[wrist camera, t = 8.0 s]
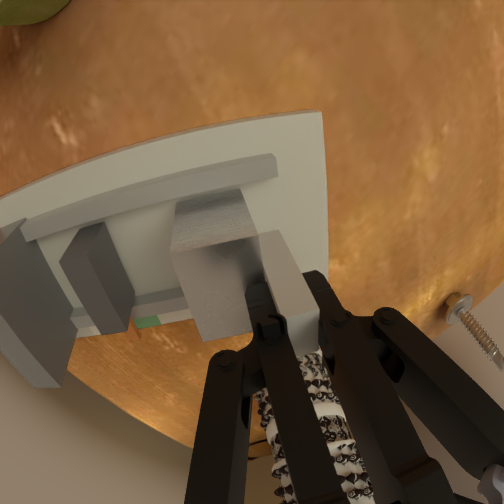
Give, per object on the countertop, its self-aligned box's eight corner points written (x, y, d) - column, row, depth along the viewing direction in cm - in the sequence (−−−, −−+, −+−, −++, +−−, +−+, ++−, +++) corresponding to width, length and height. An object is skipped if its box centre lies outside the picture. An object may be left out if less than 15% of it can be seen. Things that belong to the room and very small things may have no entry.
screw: (432, 307, 32) (458, 279, 30) (443, 318, 34) (467, 293, 32) (488, 383, 21) (520, 351, 19) (493, 386, 23) (521, 358, 22)
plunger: (176, 202, 18) (169, 254, 13) (240, 188, 18) (258, 234, 13) (199, 278, 21) (202, 342, 16) (253, 266, 21) (272, 327, 16)
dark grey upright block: (79, 228, 17) (58, 262, 14) (104, 221, 18) (86, 254, 14) (127, 324, 22) (121, 363, 19) (149, 320, 23) (145, 359, 19)
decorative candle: (229, 378, 31) (273, 592, 11) (283, 329, 28) (368, 582, 7) (288, 393, 35) (341, 567, 15) (340, 351, 32) (422, 543, 11)
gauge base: (0, 196, 16) (-63, 256, 9) (313, 109, 18) (384, 132, 11) (70, 328, 24) (49, 401, 17) (321, 276, 25) (363, 350, 18)
